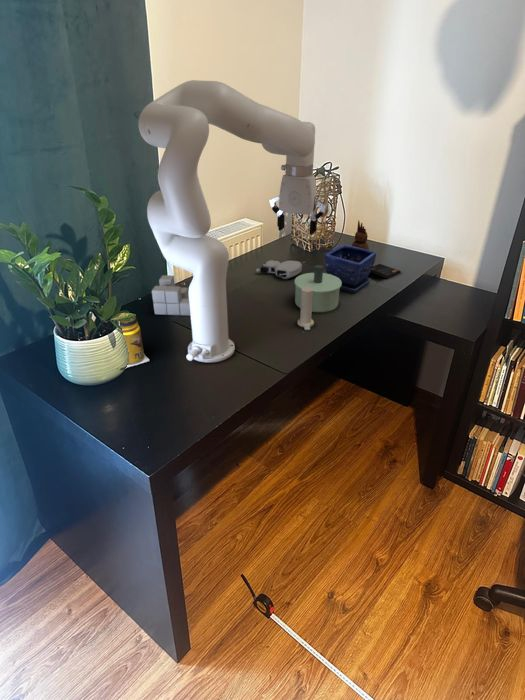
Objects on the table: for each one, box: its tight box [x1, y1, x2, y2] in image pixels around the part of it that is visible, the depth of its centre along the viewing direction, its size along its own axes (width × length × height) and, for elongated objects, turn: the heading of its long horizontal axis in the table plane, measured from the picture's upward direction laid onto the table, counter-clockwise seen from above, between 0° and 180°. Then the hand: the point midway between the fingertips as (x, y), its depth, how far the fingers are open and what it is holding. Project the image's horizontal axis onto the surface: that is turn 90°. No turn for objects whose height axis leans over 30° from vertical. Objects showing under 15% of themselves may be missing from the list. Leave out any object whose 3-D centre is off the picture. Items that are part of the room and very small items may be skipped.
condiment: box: [120, 315, 150, 369], centre depth 127 cm, size 7×8×12 cm
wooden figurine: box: [351, 220, 370, 261], centre depth 186 cm, size 7×6×15 cm
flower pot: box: [324, 244, 377, 294], centre depth 166 cm, size 13×13×12 cm
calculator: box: [370, 263, 401, 279], centre depth 178 cm, size 9×12×3 cm
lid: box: [294, 264, 342, 293], centre depth 153 cm, size 15×15×6 cm
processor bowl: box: [294, 286, 341, 313], centre depth 156 cm, size 14×14×7 cm
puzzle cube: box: [151, 274, 191, 317], centre depth 154 cm, size 12×12×8 cm
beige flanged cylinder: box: [296, 287, 315, 331], centre depth 143 cm, size 9×5×12 cm, turn 3°
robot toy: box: [255, 259, 306, 280], centre depth 177 cm, size 12×4×15 cm
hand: (296, 231), depth 146 cm, fingers open, 9 cm apart
